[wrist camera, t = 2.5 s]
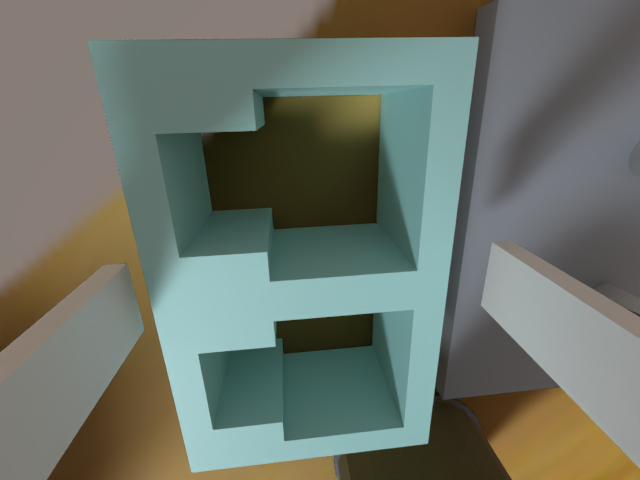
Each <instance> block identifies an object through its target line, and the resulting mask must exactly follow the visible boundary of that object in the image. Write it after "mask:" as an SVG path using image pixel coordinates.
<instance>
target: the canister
mask: <svg viewBox="0 0 640 480" xmlns="http://www.w3.org/2000/svg"><path fill="white" fill-rule="evenodd" d="M334 467H335V473H336V476H337V478H338V480H512V479H511V478H510V476H509V475H508V473H507V471H506V470H505V468H504V467H503V465H502V463H501V462H500V460H499V459H498V457H497V455H496V454H495V452H494V451H493V449H492V447H491V446H490V444H489V443H488V441H487V439H486V438H485V436H484V435H483V433H482V430H481V426H480V423H479V421H478V419H477V418H476V416H475V415H474V413H473V412H472V411H471V410H470V409H469V408H468V407H467V406H465V405H464V404H462V403H460V402H459V401H457V400H455V399H447V400H443V399H442V397H441V396H440V395H439V394H434V399H433V407H432V415H431V423H430V431H429V439H428V444H422V445H413V446H405V447H397V448H389V449H381V450H373V451H364V452H356V453H348V454H340V455H335V457H334Z"/></svg>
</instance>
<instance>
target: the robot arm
mask: <svg viewBox="0 0 640 480" xmlns="http://www.w3.org/2000/svg"><path fill="white" fill-rule="evenodd" d="M481 306H482V307H483V308H484V309H485V310H486V311H487V312H488V313H489V314H490V315H491V316H492V317H493V318H494V319H495V321H496V322H497V323H498V324H499V325H500V326H501V327H502V328H503V329H504V330H505V331H506V332H507V333H508V334H509V335H510V336H511V337H512V338H513V339H514V340H515V341H516V342H517V343H518V344H519V345H520V346H521V347H522V348H523V349H524V350H525V351H526V352H527V353H528V354H529V355H530V356H531V357H532V358H533V359H534V361H535V362H536V363H537V364H538V365H539V366H540V367H541V368H542V369H543V370H544V371H545V372H546V373H547V374H548V375H549V376H550V377H551V378H552V379H553V380H554V381H555V382H556V383H557V384H558V385H559V386H560V387H561V388H562V389H563V390H564V391H565V392H566V393H567V394H568V395H569V396H570V397H571V398H572V399H573V401H574V402H575V403H576V404H577V405H578V406H579V407H580V408H581V409H582V410H583V411H584V412H585V413H586V414H587V415H588V416H589V417H590V418H591V419H592V420H593V421H594V422H595V423H596V424H597V425H598V426H599V427H600V428H601V429H602V430H603V431H604V432H605V433H606V434H607V435H608V436H609V437H610V438H611V439H612V440H613V442H614V443H615V444H616V445H617V446H618V447H619V448H620V449H621V450H622V451H623V452H624V453H625V454H626V455H627V456H628V457H629V458H630V459H631V460H632V461H633V462H634V463H635V464H636V465H637V466H638V467H639V468H640V314H638V313H636V312H633V311H631V310H628V309H626V308H624V307H622V306H620V305H619V304H617V303H615V302H614V301H612V300H610V299H609V298H607V297H605V296H604V295H602V294H600V293H598V292H597V291H595V290H593V289H592V288H590V287H588V286H587V285H585V284H583V283H582V282H580V281H578V280H577V279H575V278H573V277H572V276H570V275H568V274H566V273H565V272H563V271H561V270H560V269H558V268H556V267H555V266H553V265H551V264H550V263H548V262H546V261H545V260H543V259H541V258H540V257H538V256H536V255H534V254H533V253H531V252H529V251H528V250H526V249H524V248H523V247H521V246H519V245H518V244H516V243H514V242H513V241H502V242H492V245H491V251H490V256H489V262H488V267H487V273H486V279H485V284H484V290H483V296H482V301H481ZM143 331H144V326H143V322H142V318H141V314H140V311H139V307H138V303H137V299H136V295H135V292H134V288H133V284H132V280H131V277H130V273H129V269H128V265H127V263H126V264H109V265H103V266H102V267H101V268H100V269H98V270H97V271H96V272H95V273H94V274H92V275H91V276H90V277H89V278H88V279H87V280H85V281H84V282H83V283H82V284H81V285H79V286H78V287H77V288H76V289H75V290H73V291H72V292H71V293H70V294H69V295H68V296H66V297H65V298H64V299H63V300H62V301H60V302H59V303H58V304H57V305H56V306H55V307H53V308H52V309H51V310H50V311H49V312H47V313H46V314H45V315H44V316H43V317H42V318H40V319H39V320H38V321H37V322H36V323H34V324H33V325H32V326H31V327H30V328H28V329H27V330H26V331H25V332H24V333H23V334H21V335H20V336H19V337H18V338H17V339H15V340H14V341H13V342H12V343H11V344H10V345H8V346H7V347H6V348H5V349H4V350H2V351H0V480H47V479H48V477H49V476H50V474H51V472H52V471H53V469H54V468H55V466H56V465H57V463H58V462H59V460H60V459H61V457H62V456H63V454H64V453H65V451H66V449H67V448H68V446H69V445H70V443H71V442H72V440H73V439H74V437H75V436H76V434H77V433H78V431H79V430H80V428H81V426H82V425H83V423H84V422H85V420H86V419H87V417H88V416H89V414H90V413H91V411H92V410H93V408H94V407H95V405H96V403H97V402H98V400H99V399H100V397H101V396H102V394H103V393H104V391H105V390H106V388H107V387H108V385H109V384H110V382H111V380H112V379H113V377H114V376H115V374H116V373H117V371H118V370H119V368H120V367H121V365H122V364H123V362H124V361H125V359H126V358H127V356H128V354H129V353H130V351H131V350H132V348H133V347H134V345H135V344H136V342H137V341H138V339H139V338H140V336H141V335H142V333H143Z"/></svg>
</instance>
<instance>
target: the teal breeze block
mask: <svg viewBox="0 0 640 480" xmlns="http://www.w3.org/2000/svg"><path fill="white" fill-rule="evenodd" d="M478 42H479V37H403V38H288V39H178V40H87V43H88V46H89V51H90V55H91V59H92V63H93V67H94V71H95V76H96V80H97V84H98V88H99V92H100V96H101V100H102V105H103V109H104V113H105V117H106V121H107V125H108V129H109V133H110V138H111V142H112V146H113V150H114V154H115V158H116V162H117V166H118V171H119V175H120V179H121V183H122V187H123V191H124V195H125V200H126V204H127V208H128V212H129V216H130V220H131V224H132V228H133V233H134V237H135V241H136V245H137V249H138V253H139V257H140V261H141V266H142V270H143V274H144V278H145V282H146V286H147V290H148V294H149V299H150V303H151V307H152V311H153V315H154V319H155V323H156V327H157V332H158V336H159V340H160V344H161V348H162V352H163V356H164V360H165V365H166V369H167V373H168V377H169V381H170V385H171V389H172V394H173V398H174V402H175V406H176V410H177V414H178V418H179V422H180V427H181V431H182V435H183V439H184V443H185V447H186V451H187V455H188V460H189V464H190V468H191V472H192V473H193V472H201V471H210V470H218V469H226V468H234V467H242V466H250V465H258V464H267V463H275V462H283V461H291V460H299V459H307V458H316V457H324V456H332V455H340V454H348V453H356V452H364V451H373V450H381V449H389V448H397V447H405V446H413V445H422V444H428V439H429V431H430V423H431V415H432V407H433V399H434V391H435V383H436V375H437V367H438V359H439V351H440V344H441V336H442V328H443V320H444V312H445V304H446V296H447V288H448V280H449V272H450V264H451V256H452V248H453V240H454V232H455V225H456V217H457V209H458V201H459V193H460V185H461V177H462V169H463V161H464V153H465V145H466V137H467V129H468V121H469V113H470V105H471V98H472V90H473V82H474V74H475V66H476V58H477V50H478ZM373 94H381V114H380V141H379V169H378V197H377V223H370V224H353V225H336V226H320V227H303V228H286V229H273V217H272V208H257V209H239V210H220V211H212V206H211V199H210V192H209V186H208V179H207V172H206V165H205V159H204V152H203V145H202V138H201V133H203V132H233V131H256V130H258V129H259V128H261V127H262V126H263V125H265V119H264V107H263V97H291V96H332V95H373ZM368 313H373V335H372V346H363V347H352V348H341V349H331V350H320V351H309V352H299V353H288V354H284V353H283V340H282V338H278V339H276V321H285V320H297V319H309V318H321V317H333V316H344V315H356V314H368Z"/></svg>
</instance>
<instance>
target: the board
mask: <svg viewBox="0 0 640 480" xmlns="http://www.w3.org/2000/svg"><path fill="white" fill-rule="evenodd" d="M474 37H479V42H478V50H477V58H476V66H475V74H474V82H473V90H472V98H471V105H470V113H469V121H468V129H467V137H466V145H465V153H464V161H463V169H462V177H461V185H460V193H459V201H458V209H457V217H456V225H455V232H454V240H453V248H452V256H451V264H450V272H449V280H448V288H447V296H446V304H445V312H444V320H443V328H442V336H441V344H440V351H439V359H438V367H437V375H436V383H435V387H436V389H437V390H438V392H439V394H440V396H441V397H442V399H443V400H447V399H457V398H466V397H475V396H484V395H493V394H502V393H511V392H520V391H529V390H538V389H547V388H556V387H560V386H559V385H558V384H557V383H556V382H555V381H554V380H553V379H552V378H551V377H550V376H549V375H548V374H547V373H546V372H545V371H544V370H543V369H542V368H541V367H540V366H539V365H538V364H537V363H536V362H535V361H534V359H533V358H532V357H531V356H530V355H529V354H528V353H527V352H526V351H525V350H524V349H523V348H522V347H521V346H520V345H519V344H518V343H517V342H516V341H515V340H514V339H513V338H512V337H511V336H510V335H509V334H508V333H507V332H506V331H505V330H504V329H503V328H502V327H501V326H500V325H499V324H498V323H497V322H496V321H495V319H494V318H493V317H492V316H491V315H490V314H489V313H488V312H487V311H486V310H485V309H484V308H483V307H482V306H481V301H482V296H483V290H484V284H485V279H486V273H487V267H488V262H489V256H490V251H491V245H492V242H502V241H513V242H514V243H516V244H518V245H519V246H521V247H523V248H524V249H526V250H528V251H529V252H531V253H533V254H534V255H536V256H538V257H540V258H541V259H543V260H545V261H546V262H548V263H550V264H551V265H553V266H555V267H556V268H558V269H560V270H561V271H563V272H565V273H566V274H568V275H570V276H572V277H573V278H575V279H577V280H578V281H580V282H582V283H583V284H585V285H587V286H588V287H590V288H592V289H593V290H595V291H597V292H598V293H600V294H602V295H604V296H605V297H607V298H609V299H610V300H612V301H614V302H615V303H617V304H619V305H620V306H622V307H624V308H626V309H628V310H631V311H633V312H636V313H638V314H640V0H493V1H491V2H490V3H488V4H486V5H484V6H482V7H480V8H478V9H477V17H476V25H475V33H474Z"/></svg>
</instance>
